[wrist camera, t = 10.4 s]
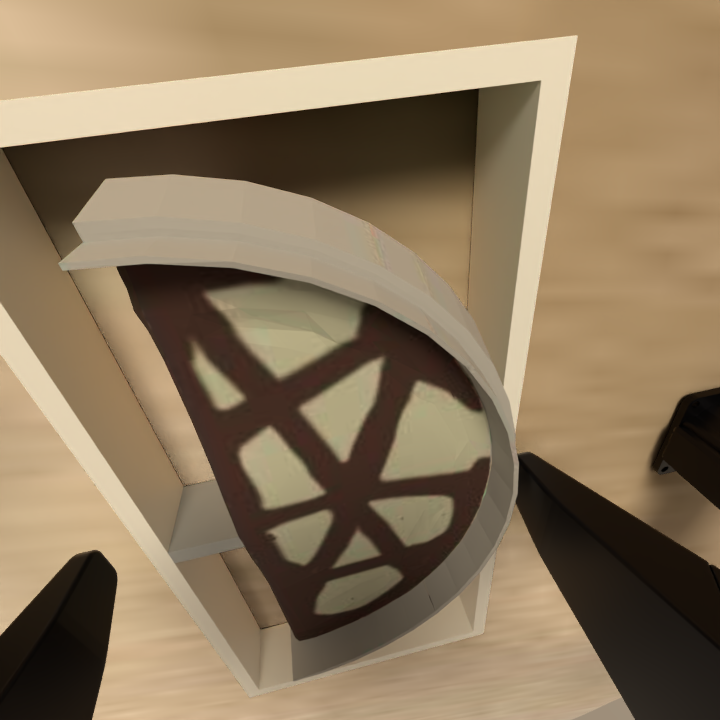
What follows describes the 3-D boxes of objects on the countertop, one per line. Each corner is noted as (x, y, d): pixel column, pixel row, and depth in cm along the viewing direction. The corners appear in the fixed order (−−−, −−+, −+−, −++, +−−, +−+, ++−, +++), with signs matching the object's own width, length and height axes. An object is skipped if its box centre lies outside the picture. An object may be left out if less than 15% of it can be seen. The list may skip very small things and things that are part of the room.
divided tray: (504, 54, 12) (577, 35, 9) (462, 583, 30) (483, 633, 27) (-49, 118, 11) (-170, 119, 8) (252, 637, 28) (249, 698, 25)
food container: (410, 407, 19) (514, 629, 11) (286, 434, 19) (297, 689, 10) (392, 114, 13) (628, 114, 4) (198, 143, 12) (26, 208, 4)
